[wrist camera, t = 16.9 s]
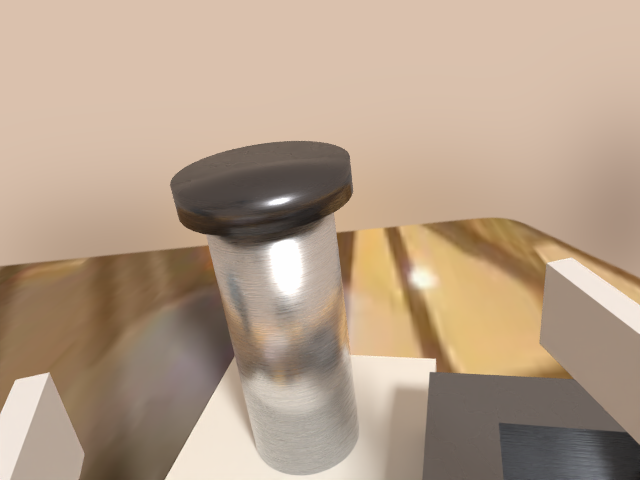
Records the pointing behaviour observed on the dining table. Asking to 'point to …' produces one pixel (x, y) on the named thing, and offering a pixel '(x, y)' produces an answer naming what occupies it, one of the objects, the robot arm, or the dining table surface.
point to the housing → (522, 431)
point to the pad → (365, 459)
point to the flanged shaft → (281, 291)
